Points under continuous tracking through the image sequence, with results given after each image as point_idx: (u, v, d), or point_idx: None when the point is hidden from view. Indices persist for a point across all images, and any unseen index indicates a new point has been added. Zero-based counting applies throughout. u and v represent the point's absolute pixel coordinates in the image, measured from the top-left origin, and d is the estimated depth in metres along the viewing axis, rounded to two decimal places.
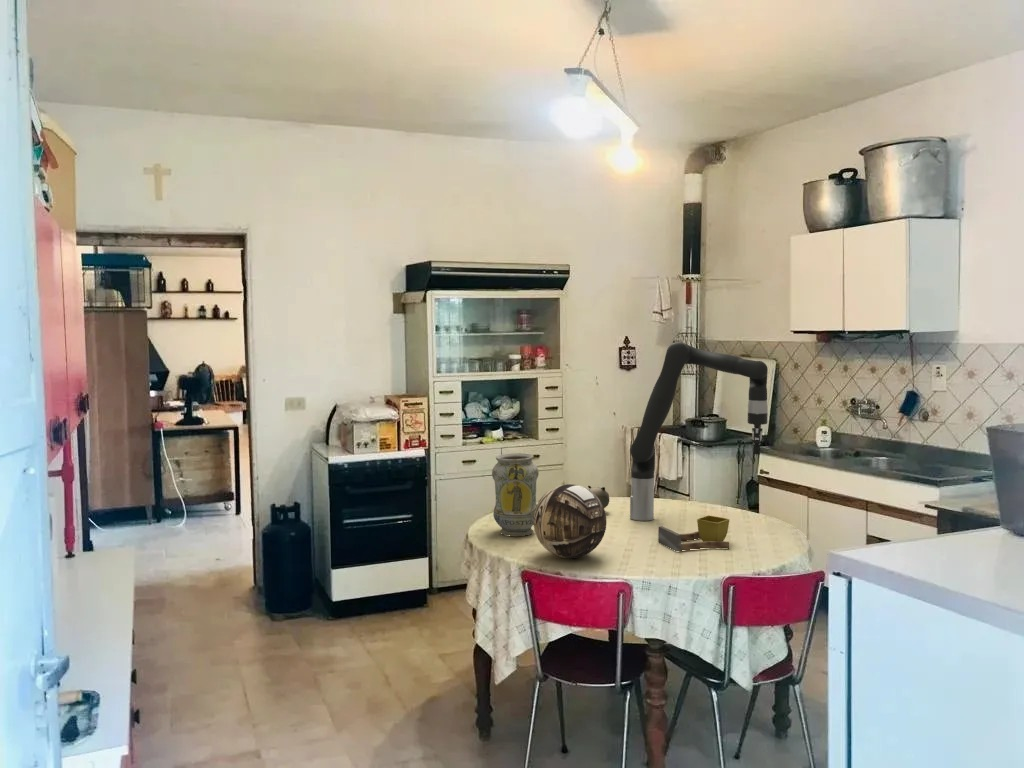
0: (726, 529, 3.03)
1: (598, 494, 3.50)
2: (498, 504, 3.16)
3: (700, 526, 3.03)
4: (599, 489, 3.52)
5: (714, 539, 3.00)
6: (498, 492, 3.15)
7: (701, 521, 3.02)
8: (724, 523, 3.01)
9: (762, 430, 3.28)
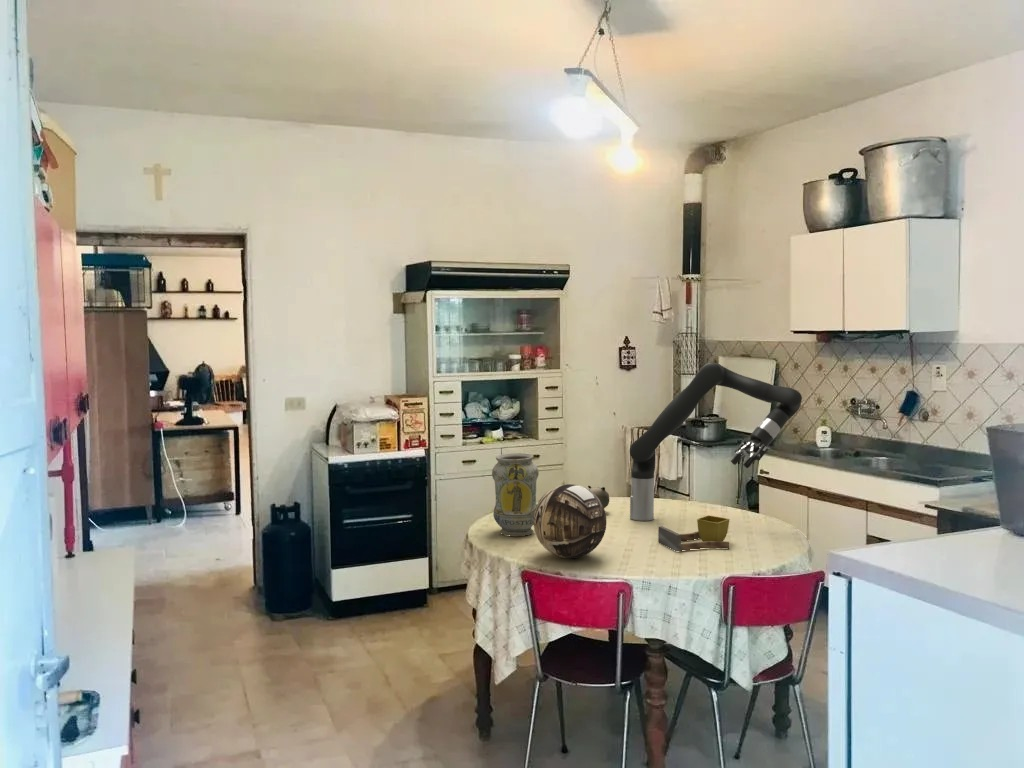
0: (726, 529, 3.03)
1: (598, 494, 3.50)
2: (498, 504, 3.16)
3: (700, 526, 3.03)
4: (599, 489, 3.52)
5: (714, 539, 3.00)
6: (498, 492, 3.15)
7: (701, 521, 3.02)
8: (724, 523, 3.01)
9: None
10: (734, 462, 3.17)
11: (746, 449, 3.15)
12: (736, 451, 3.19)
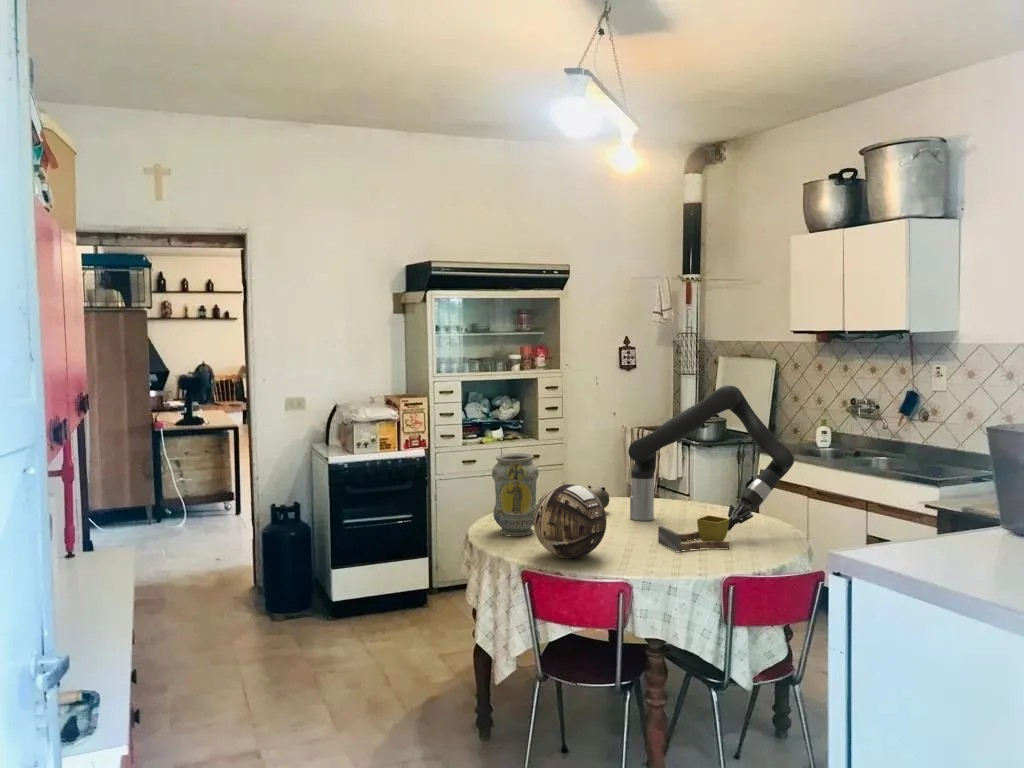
0: (726, 529, 3.03)
1: (598, 494, 3.50)
2: (498, 504, 3.16)
3: (700, 526, 3.03)
4: (599, 489, 3.52)
5: (714, 539, 3.00)
6: (498, 492, 3.15)
7: (701, 521, 3.02)
8: (724, 523, 3.01)
9: None
10: None
11: None
12: (730, 515, 3.08)
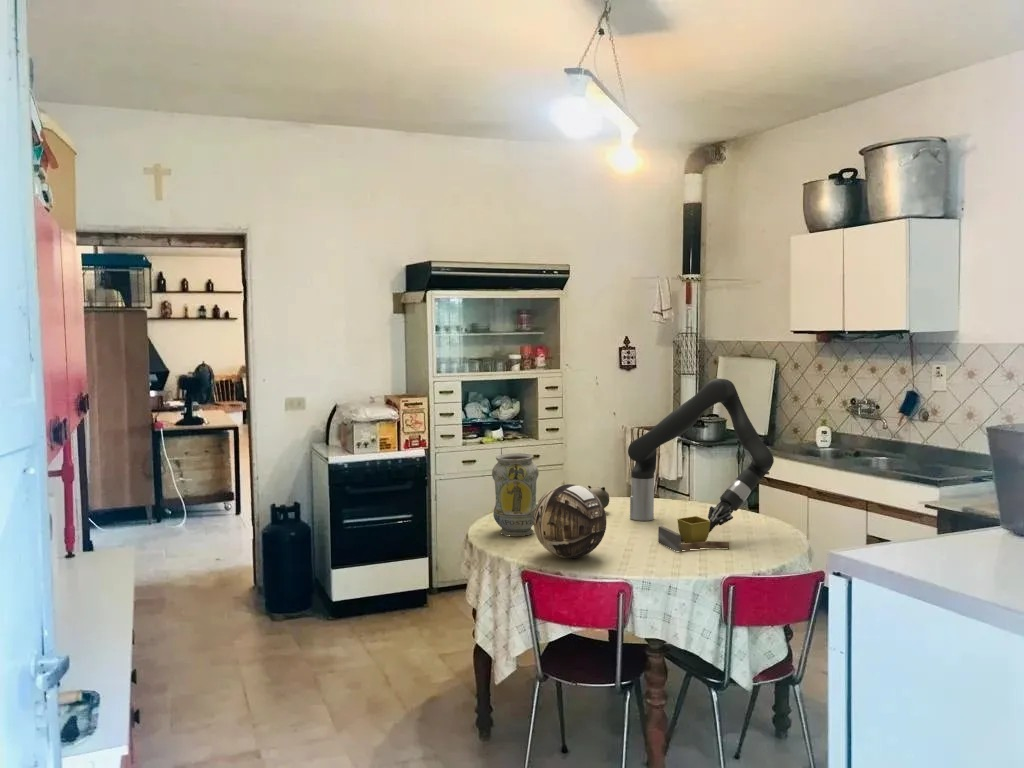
0: (706, 531, 3.00)
1: (598, 494, 3.50)
2: (498, 504, 3.16)
3: (679, 526, 3.03)
4: (599, 489, 3.52)
5: (690, 540, 2.99)
6: (498, 492, 3.15)
7: (680, 521, 3.02)
8: (701, 525, 2.98)
9: None
10: None
11: None
12: (710, 517, 3.06)
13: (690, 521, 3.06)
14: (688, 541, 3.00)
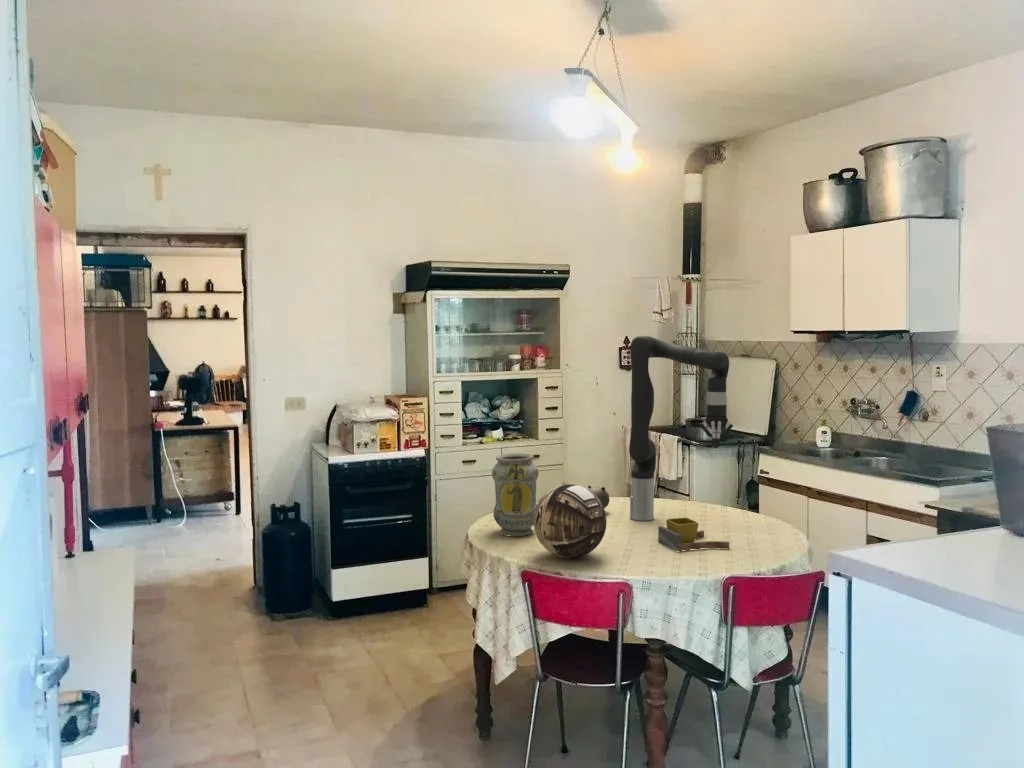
0: (693, 533, 2.98)
1: (598, 494, 3.50)
2: (498, 504, 3.16)
3: (668, 526, 3.03)
4: (599, 489, 3.52)
5: None
6: (498, 492, 3.15)
7: (668, 521, 3.02)
8: (689, 526, 2.97)
9: None
10: None
11: (717, 426, 3.22)
12: (710, 434, 3.23)
13: (680, 522, 3.05)
14: None
